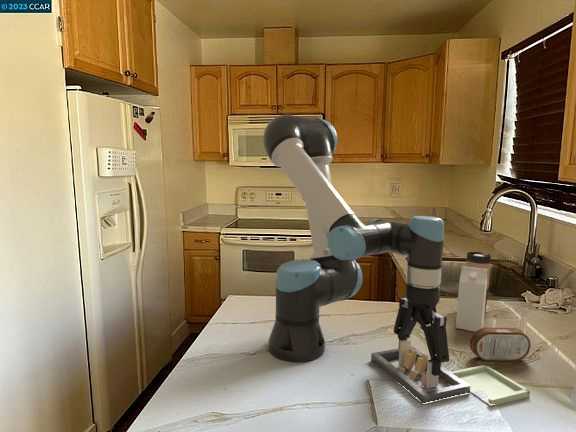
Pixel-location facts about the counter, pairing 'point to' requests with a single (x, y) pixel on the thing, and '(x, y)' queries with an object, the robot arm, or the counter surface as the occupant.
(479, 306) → the milk carton
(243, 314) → the counter surface
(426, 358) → the ammunition
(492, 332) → the tin
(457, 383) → the gray rectangular frame
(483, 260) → the travel mug
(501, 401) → the tray pad
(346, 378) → the counter surface
